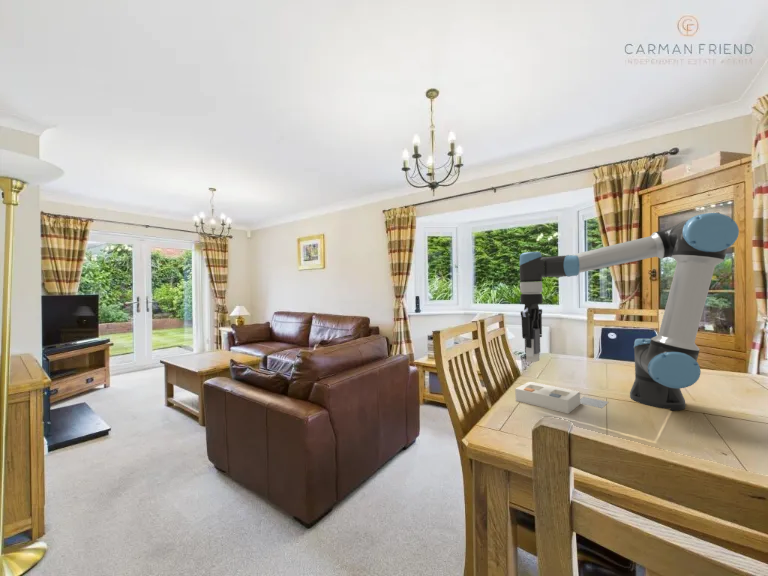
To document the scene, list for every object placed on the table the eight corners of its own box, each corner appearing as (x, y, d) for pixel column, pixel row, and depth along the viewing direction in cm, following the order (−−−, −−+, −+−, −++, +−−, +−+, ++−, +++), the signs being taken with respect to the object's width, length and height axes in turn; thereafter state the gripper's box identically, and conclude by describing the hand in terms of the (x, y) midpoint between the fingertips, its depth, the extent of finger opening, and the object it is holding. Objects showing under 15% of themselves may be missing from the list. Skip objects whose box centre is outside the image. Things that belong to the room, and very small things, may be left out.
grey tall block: (540, 360, 120) (539, 328, 120) (536, 362, 117) (535, 329, 117) (529, 358, 123) (529, 327, 123) (525, 360, 120) (524, 328, 120)
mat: (608, 403, 114) (608, 401, 114) (602, 409, 109) (602, 408, 109) (583, 398, 120) (583, 396, 120) (576, 403, 115) (576, 402, 115)
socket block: (580, 405, 114) (579, 390, 114) (568, 415, 106) (567, 399, 106) (529, 393, 127) (529, 380, 127) (515, 401, 119) (515, 387, 119)
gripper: (531, 292, 128) (532, 350, 128) (510, 294, 117) (512, 357, 117) (550, 292, 122) (552, 352, 123) (531, 294, 111) (533, 360, 111)
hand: (532, 355), depth 120 cm, fingers closed on grey tall block, 4 cm apart
